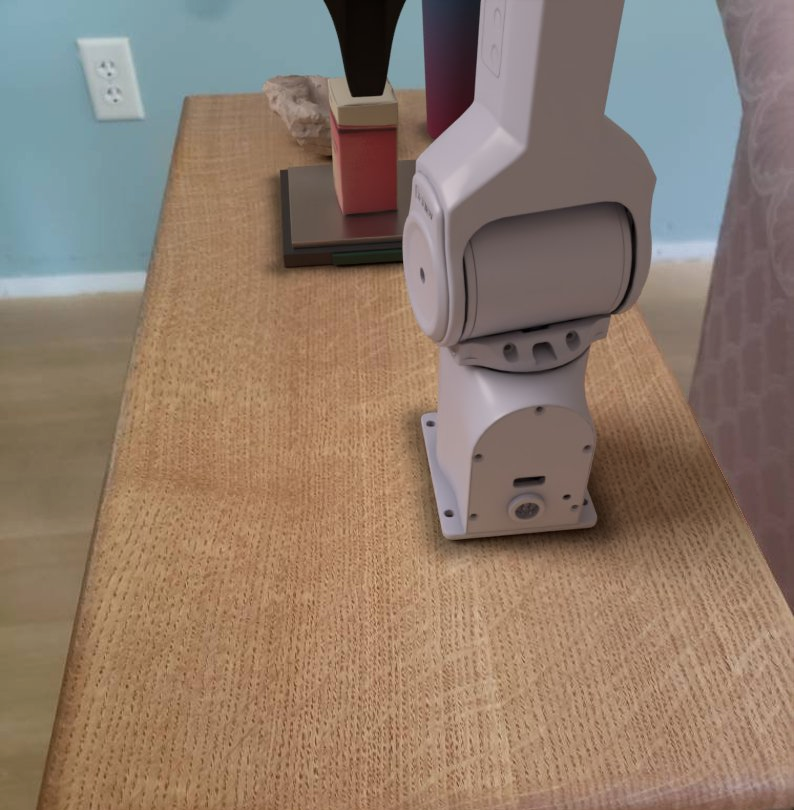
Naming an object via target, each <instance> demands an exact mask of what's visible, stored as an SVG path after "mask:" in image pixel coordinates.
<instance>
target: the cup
mask: <svg viewBox="0 0 794 810" xmlns="http://www.w3.org/2000/svg"><path fill="white" fill-rule="evenodd" d="M480 6H481V0H421V15H422V16H421V17H422V39H423V40H422V41H423V42H422V43H423V61H424V62H423V63H424V85H425V111H426V131H427V134H428V135H429V136H430V137H431V138H432V139H435V140H436V139H437V138H438V137H439V136H440V135H441V134H442V133H443V132H444V131H445V130H447V129H448V128H449V127H450V126H451V125H452V124H453V123H454V122H455V121H456V120H457V119H458V118H460V117H461V116H462V114H463V113H464V112H465V111H466V110H467V109H468V108H469V107H470V106H471V105H472V103H473V102H474V97H475V82H476V67H477V52H478V37H479V21H480Z"/></svg>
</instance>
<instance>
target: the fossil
mask: <svg viewBox="0 0 794 810" xmlns="http://www.w3.org/2000/svg"><path fill="white" fill-rule="evenodd" d="M329 78H330V77H324V76H321V75H319V74H316V75H310V74H308V75H298V74H289V75H275V76H273V77H271V78H268V79H267V80H266V81H265V82H264V83H263V85H262V93H263V94H264V95H265V96H266V98H267V99H268V108H269V109H270V111H271V112H272V113H273V114H275V115H276V116H278V117H280V118H281V120H282V122H283V123H284V125H285V126H286V128H287V130H288V131H289V133H290V135H291V137H293V138H294V139H295V140H296V143H298V145H299V146H301V147H302V148H303V149H305V150H306V151H308V152H309V153H313V154H314V155H317V156H318V155H319V156H327V157H328V156H332V139H331V121H330V104H329V88H328V79H329Z"/></svg>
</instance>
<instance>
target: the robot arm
mask: <svg viewBox="0 0 794 810" xmlns="http://www.w3.org/2000/svg"><path fill="white" fill-rule="evenodd" d="M322 1H323V3H324V5H325V6H326V8H327V10H328V13H329V15H330V18H331V21H332V23H333V26H334V30H335V34H336V36H337V40H338V44H339V49H340V55H341V60H342V66H343V69H344V71H343V72H344V77H346V80H347V84H348V88H349V91H350V94H351V96H352V97H353V98H354V97H373V96H382V95H383V92H384V89H385V85H386V80H387V77H388V74H389V67H390V61H391V54H392V49H393V43H394V37H395V34H396V30H397V29H396V28H397V25H398V23H399V20H400V16H401V14H402V11H403V8H404V6H405V4H406V2H407V0H322ZM625 1H626V0H481V6H480V21H479V37H478V52H477V67H476V82H475V97H474V102H473V103H472V105H471V106H470V107H469V108H468V109H467V110H466V111H465V112H464V113H463V114H462V116H461V117H460V118H458V119H457V120H456V121H455V122H454V123H453V124H452V125H451V126H450V127H449V128H448V129H447V130H445V131H444V132H443V133H442V134H441V135H440V136H439V137H438V138H437V139H435V140H434V141H433V142H432V143H431V144H430V145H429V146H428V147H427V148H425V149H424V150H423V151H422V152H421V154H420V155H419V156H418V157H417V160H416V173H415V175H414V177H413V180H412V195H411V204H410V210H409V215H408V217H407V219H406V222H405V225H404V231H403V260H402V261H403V272H404V279H405V285H406V290H407V291H406V292H407V296H408V300H409V304H410V307H411V310H412V313H413V316H414V319H415V321H416V323H417V325H418V327H419V329H420V330H421V332H422V333H423V334H424V335H425V336H426V337H428V338H429V340H431V341H432V342H433V343H434V344H435V345H436V346H437V347H439V351H438V352H439V353H438V386H437V411H435V412H433V411H432V412H426V413H424V414H422V416H421V418H420V424H421V430H422V435H423V441H424V446H425V451H426V456H427V460H428V468H429V471H430V477H431V481H432V482H431V483H432V486H433V492H434V496H435V497H434V498H435V503H436V507H437V512H438V517H439V523H440V528H441V533H442V535H443V537H444V538H445V539H447V540H452V541H453V540H465V539H477V538H489V537H499V536H500V537H501V536H510V535H511V536H512V535H521V534H533V533H545V532H556V531H557V532H558V531H568V530H579V529H589V528H590V529H591V528H592V527H595V526H596V524H597V521H598V515H597V512H596V509H595V506H594V503H593V500H592V498H591V495H590V492H589V490H588V489H589V488H588V484H589V479H590V475H591V469H592V465H593V461H594V455H595V452H596V448H597V430H596V426H595V423H594V420H593V417H592V415H591V412H590V408H589V405H588V401H587V395H586V385H585V382H586V374H587V373H586V372H587V367H588V362H589V358H590V352H591V346H592V344H593V343H595V342H597V341H600V340H604V339H607V337H608V332H609V327H610V322H611V317H612V316H613V315H621V314H625V313H627V312H628V311H629V310H631V309H632V308H633V307H634V306H635V305H636V303H637V302H638V300H639V298H640V297H641V295H642V291H643V289H644V287H645V285H646V283H647V281H648V278H649V273H650V269H651V264H652V254H653V240H652V239H653V238H652V230H651V229H652V228H651V222H652V221H651V219H652V208H653V207H652V204H653V198H654V193H655V188H656V185H657V179H658V178H657V175H656V173H655V171H654V168H653V166H652V164H651V162H650V160H649V158H648V156H647V154H646V153H645V151H644V150H643V148H642V147H641V146H640V145H639V143H638V142H637V141H636V139H634V138H633V136H632V135H630V134H629V132H628V131H626V130H625V129H623V128H622V127H621V126H620V125H619V124H617V123H616V122H615V121H613V119H612V118H610V117H609V116H607V115H606V114H605V113H606V107H607V101H608V95H609V91H610V84H611V78H612V73H613V68H614V62H615V57H616V51H617V46H618V41H619V35H620V30H621V23H622V19H623V13H624V8H625Z"/></svg>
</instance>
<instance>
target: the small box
mask: <svg viewBox="0 0 794 810" xmlns="http://www.w3.org/2000/svg"><path fill="white" fill-rule="evenodd" d="M328 78H329V79H328V88H329V104H330V121H331V139H332V155H331V156H332V164H333V175H334V186H335V190H336V194H337V198H338V201H339V204H340V207H341V210H342V213H343V214H345V215H346V214H356V213H368V212H379V211H387V210H396V209H398V161H399V101H398V97H397V95H396V93H395V91H394V87H393V86H392V84H391V82H390V79H389V78H388V76H387V80H386V85H385V89H384V92H383V95H382V96H373V97H354V98H353V97H352V96H351V94H350V91H349V88H348V84H347V80H346V76H343V77H328Z"/></svg>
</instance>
